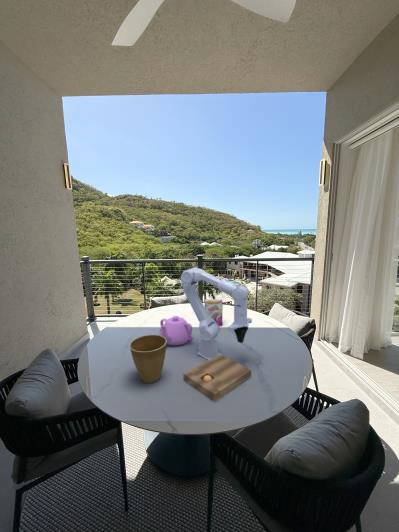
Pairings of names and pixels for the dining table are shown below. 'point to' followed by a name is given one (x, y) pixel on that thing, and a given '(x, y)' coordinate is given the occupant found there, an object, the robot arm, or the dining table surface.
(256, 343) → the dining table surface
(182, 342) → the teapot
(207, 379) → the ball
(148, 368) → the plant pot
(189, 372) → the brown wooden flat block
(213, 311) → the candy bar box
